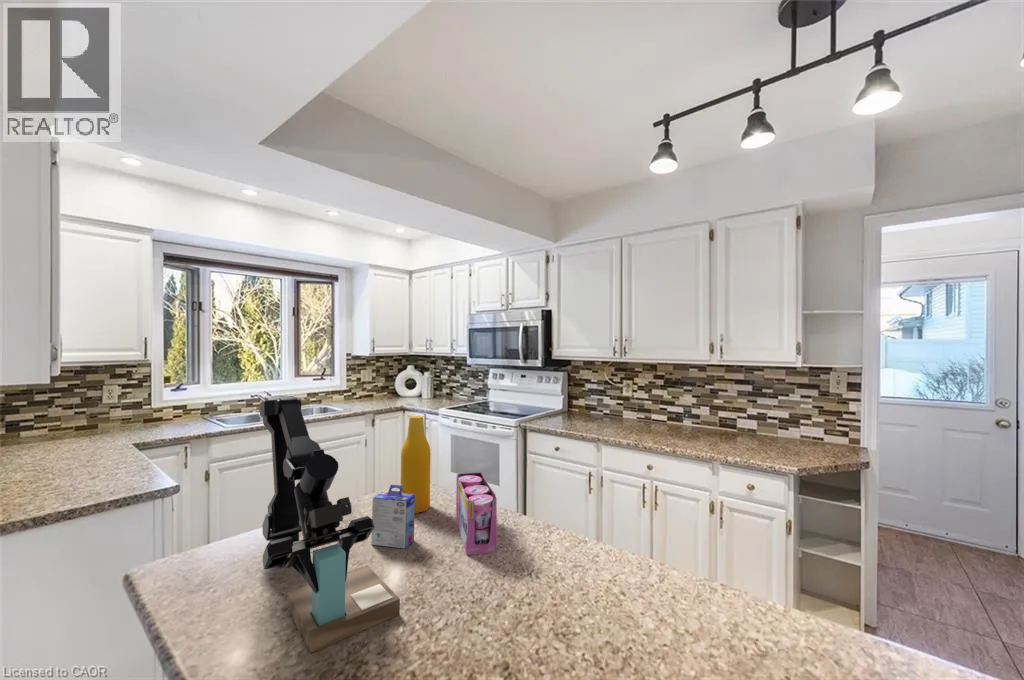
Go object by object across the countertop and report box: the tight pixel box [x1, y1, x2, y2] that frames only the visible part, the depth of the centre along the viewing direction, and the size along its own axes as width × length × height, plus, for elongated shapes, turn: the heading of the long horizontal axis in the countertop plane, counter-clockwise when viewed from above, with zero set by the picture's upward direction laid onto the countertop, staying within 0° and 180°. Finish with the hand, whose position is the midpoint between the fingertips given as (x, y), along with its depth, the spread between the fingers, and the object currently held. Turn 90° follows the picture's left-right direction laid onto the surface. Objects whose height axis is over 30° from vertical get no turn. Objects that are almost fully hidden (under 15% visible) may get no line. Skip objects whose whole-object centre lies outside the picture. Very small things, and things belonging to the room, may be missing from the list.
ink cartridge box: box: [370, 484, 415, 549], centre depth 111 cm, size 10×6×14 cm, turn 78°
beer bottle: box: [400, 415, 431, 514], centre depth 133 cm, size 9×9×29 cm
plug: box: [312, 543, 346, 627], centre depth 76 cm, size 4×4×12 cm
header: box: [286, 565, 401, 654], centre depth 82 cm, size 16×16×3 cm
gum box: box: [455, 472, 498, 556], centre depth 115 cm, size 24×8×14 cm, turn 14°
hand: (331, 587), depth 75 cm, fingers closed on plug, 4 cm apart
